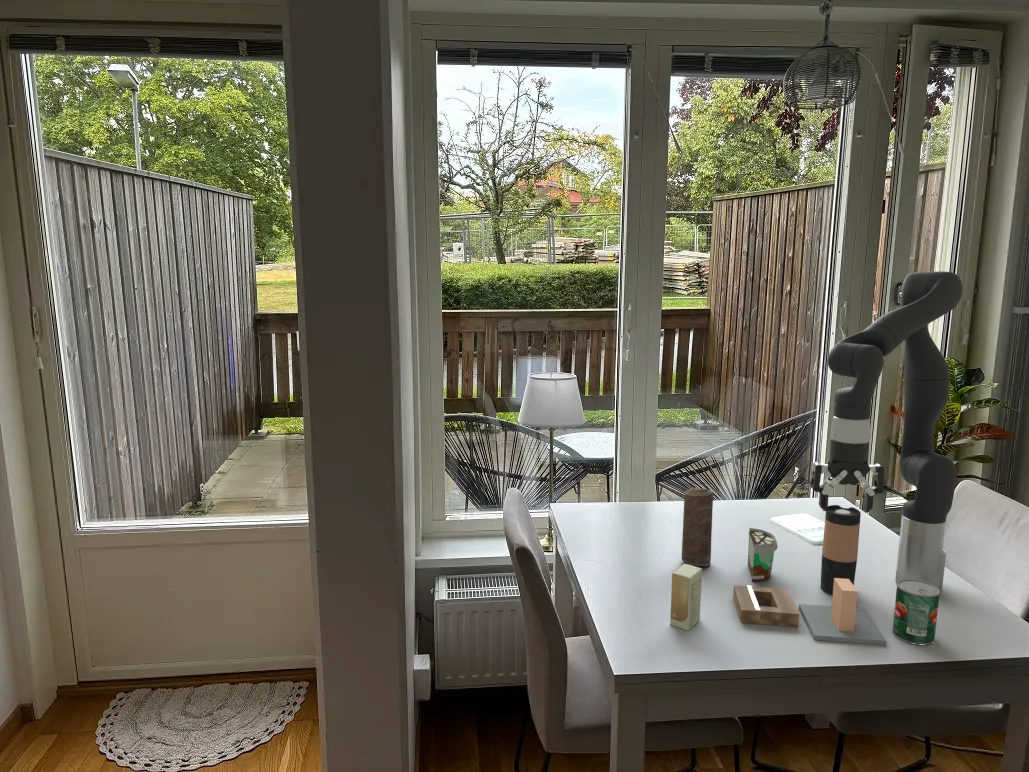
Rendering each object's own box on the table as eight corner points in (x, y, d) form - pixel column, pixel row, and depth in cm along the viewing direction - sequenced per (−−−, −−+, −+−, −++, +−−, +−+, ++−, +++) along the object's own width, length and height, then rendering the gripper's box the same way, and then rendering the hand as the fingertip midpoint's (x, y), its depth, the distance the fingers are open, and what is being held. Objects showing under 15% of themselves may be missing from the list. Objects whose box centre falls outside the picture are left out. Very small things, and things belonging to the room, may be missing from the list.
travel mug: (833, 599, 169) (840, 517, 165) (812, 585, 176) (818, 506, 172) (861, 595, 171) (868, 514, 167) (839, 581, 178) (845, 503, 174)
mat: (864, 612, 162) (864, 608, 162) (885, 645, 148) (886, 640, 148) (798, 608, 164) (799, 603, 164) (813, 639, 151) (814, 635, 150)
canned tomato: (884, 627, 156) (889, 579, 154) (919, 625, 156) (924, 578, 155) (906, 646, 148) (911, 596, 146) (943, 645, 149) (949, 595, 147)
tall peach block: (845, 617, 158) (848, 578, 156) (853, 631, 152) (857, 591, 150) (830, 616, 158) (834, 578, 157) (838, 630, 152) (842, 590, 151)
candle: (698, 572, 183) (702, 496, 179) (674, 563, 188) (678, 489, 185) (716, 564, 187) (720, 490, 184) (692, 555, 193) (696, 483, 190)
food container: (779, 586, 175) (781, 547, 173) (752, 584, 176) (755, 545, 174) (771, 565, 187) (774, 528, 185) (746, 563, 188) (749, 527, 186)
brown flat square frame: (786, 601, 167) (787, 587, 167) (798, 627, 156) (799, 612, 155) (733, 597, 169) (733, 584, 169) (740, 622, 158) (741, 608, 157)
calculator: (804, 517, 223) (805, 511, 223) (853, 541, 204) (853, 535, 204) (768, 522, 219) (768, 516, 219) (814, 547, 200) (814, 540, 200)
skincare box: (682, 614, 161) (684, 562, 159) (700, 620, 159) (703, 567, 156) (668, 625, 156) (671, 572, 154) (687, 631, 154) (689, 577, 152)
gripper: (879, 433, 156) (873, 505, 159) (810, 432, 158) (805, 503, 161) (892, 442, 149) (886, 518, 151) (819, 441, 151) (815, 515, 153)
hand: (845, 510), depth 156 cm, fingers open, 8 cm apart
